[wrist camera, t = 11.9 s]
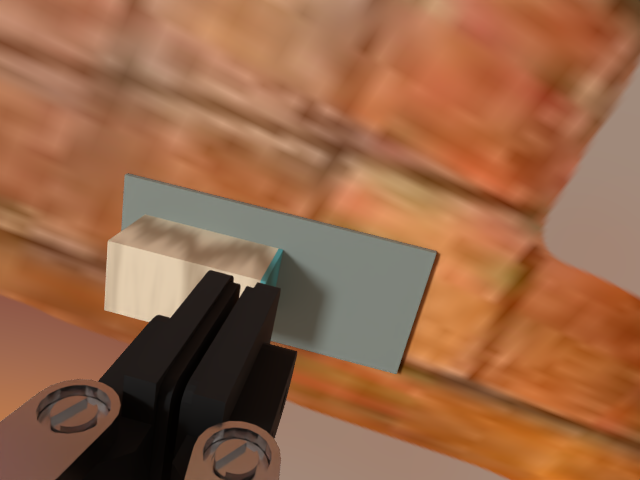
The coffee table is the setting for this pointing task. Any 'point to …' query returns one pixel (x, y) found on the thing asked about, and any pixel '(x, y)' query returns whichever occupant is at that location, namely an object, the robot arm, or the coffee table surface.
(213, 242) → the maple block
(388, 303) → the rubber mat
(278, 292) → the robot arm
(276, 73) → the coffee table surface
